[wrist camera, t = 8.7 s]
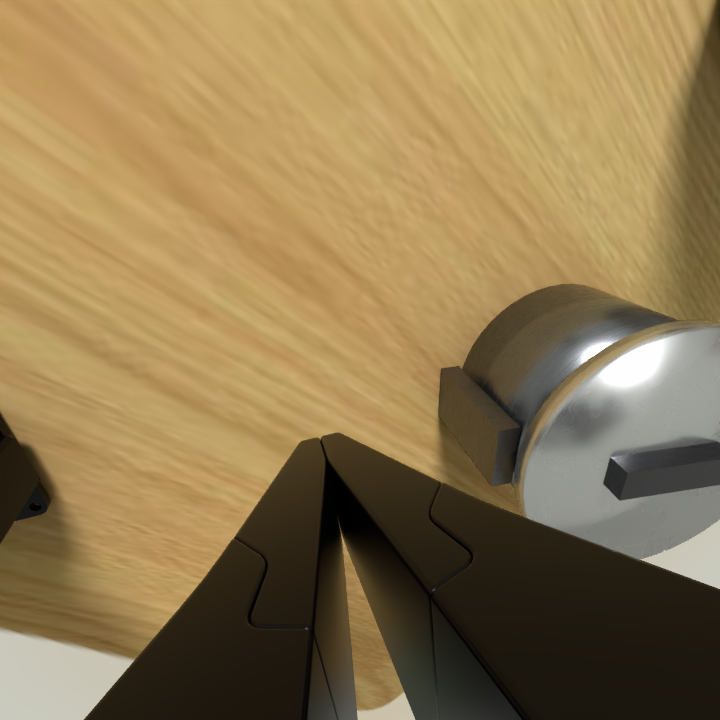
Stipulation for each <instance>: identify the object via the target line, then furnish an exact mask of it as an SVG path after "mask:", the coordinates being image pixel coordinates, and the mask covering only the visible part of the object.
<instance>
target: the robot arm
mask: <svg viewBox="0 0 720 720" xmlns="http://www.w3.org/2000/svg"><path fill="white" fill-rule="evenodd" d="M34 503H38V504H40V505H36V504H34ZM50 503H51V500H50V497H49V496H48V494H47V493H46V491H45V489H44V488H43V486H42V485H41V483H40V478H39V476H38V475H37V473H36V471H35V470H34V468H33V467H32V465H31V463H30V462H29V460H28V458H27V457H26V455H25V454H24V452H23V450H22V449H21V447H20V445H19V444H18V442H17V441H16V439H15V438H14V437H12V436H11V434H10V433H9V431H8V429H7V428H6V426H5V425H4V423H3V421H2V420H1V418H0V544H1V542H2V540H3V539H4V537H5V536H6V534H7V532H8V531H9V529H10V528H11V526H12V524H13V523H14V521H18V520H21V519H25V518H29V517H33V516H37V515H41V514H43V513H45V512H46V511H47V509H48V507H49V505H50ZM338 521H339V522H338ZM339 525H340V527H339ZM340 529H341V532H340ZM341 533H342V536H343V539H344V542H345V544H346V547H347V550H348V552H349V555H350V557H351V560H352V562H353V565H354V567H355V570H356V572H357V575H358V577H359V580H360V582H361V585H362V587H363V590H364V592H365V594H366V597H367V599H368V602H369V604H370V607H371V609H372V612H373V614H374V617H375V619H376V622H377V624H378V627H379V629H380V632H381V634H382V637H383V639H384V642H385V644H386V647H387V649H388V652H389V654H390V657H391V659H392V662H393V664H394V667H395V669H396V672H397V674H398V677H399V679H400V682H401V684H402V687H403V689H404V692H405V694H406V697H407V699H408V702H409V704H410V707H411V709H412V711H413V714H414V717H415V719H416V720H720V589H718V588H715V587H712V586H709V585H707V584H704V583H701V582H699V581H696V580H693V579H691V578H688V577H685V576H682V575H680V574H677V573H674V572H672V571H669V570H666V569H663V568H661V567H658V566H655V565H653V564H650V563H647V562H645V561H642V560H639V559H636V558H634V557H631V556H628V555H626V554H623V553H620V552H617V551H615V550H612V549H609V548H607V547H604V546H601V545H598V544H596V543H593V542H590V541H588V540H585V539H582V538H579V537H577V536H574V535H571V534H569V533H566V532H563V531H560V530H558V529H555V528H552V527H550V526H547V525H544V524H541V523H539V522H536V521H533V520H531V519H528V518H525V517H522V516H520V515H517V514H514V513H512V512H509V511H507V510H504V509H502V508H499V507H496V506H494V505H491V504H489V503H486V502H484V501H481V500H479V499H477V498H475V497H473V496H470V495H468V494H466V493H464V492H462V491H459V490H457V489H455V488H453V487H451V486H449V485H447V484H445V483H443V484H442V483H441V482H439V481H437V480H435V479H433V478H431V477H429V476H427V475H425V474H423V473H421V472H419V471H417V470H415V469H413V468H411V467H409V466H407V465H405V464H403V463H401V462H399V461H396V460H394V459H392V458H390V457H388V456H386V455H384V454H382V453H380V452H378V451H376V450H374V449H372V448H370V447H368V446H366V445H364V444H362V443H360V442H358V441H356V440H354V439H352V438H350V437H347V436H345V435H343V434H341V433H333V434H329V435H325V436H322V437H321V441H320V439H319V438H312V439H308V440H304V441H301V442H300V443H299V444H298V446H297V447H296V449H295V450H294V451H293V453H292V454H291V456H290V457H289V459H288V460H287V462H286V463H285V465H284V466H283V467H282V469H281V470H280V472H279V473H278V475H277V476H276V478H275V479H274V480H273V482H272V483H271V485H270V486H269V488H268V489H267V491H266V492H265V494H264V495H263V496H262V498H261V499H260V501H259V502H258V504H257V505H256V507H255V508H254V509H253V511H252V512H251V514H250V515H249V517H248V518H247V520H246V521H245V523H244V524H243V525H242V527H241V528H240V530H239V531H238V533H237V534H236V536H235V537H234V539H233V540H231V542H230V543H229V544H228V546H227V547H226V549H225V550H224V552H223V553H222V555H221V556H220V557H219V559H218V560H217V561H216V563H215V564H214V565H213V567H212V568H211V569H210V571H209V572H208V574H207V575H206V576H205V578H204V579H203V580H202V581H201V583H200V584H199V585H198V586H197V587H196V589H195V590H194V591H193V592H192V594H191V595H190V596H189V597H188V598H187V600H186V601H185V602H184V603H183V605H182V606H181V607H180V608H179V609H178V610H177V612H176V613H175V614H174V615H173V616H172V618H171V619H170V620H169V621H168V622H167V623H166V625H165V626H164V627H163V628H162V629H161V630H160V632H159V633H158V634H157V635H156V636H155V637H154V639H153V640H152V641H151V642H150V643H149V644H148V646H147V647H146V648H145V649H144V650H143V651H142V653H141V654H140V655H139V656H138V657H137V658H136V660H135V661H134V662H133V663H132V664H131V665H130V667H129V668H128V669H127V670H126V671H125V672H124V674H123V675H122V676H121V677H120V678H119V679H118V681H117V682H116V683H115V684H114V685H113V686H112V688H111V689H110V690H109V691H108V692H107V693H106V695H105V696H104V697H103V698H102V699H101V700H100V702H99V703H98V704H97V705H96V706H95V707H94V709H93V710H92V711H91V712H90V713H89V714H88V716H87V717H86V718H85V719H84V720H357V708H356V696H355V685H354V673H353V661H352V650H351V638H350V627H349V615H348V603H347V592H346V580H345V569H344V557H343V546H342V537H341Z"/></svg>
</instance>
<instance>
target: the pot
mask: <svg viewBox="0 0 720 720" xmlns="http://www.w3.org/2000/svg"><path fill="white" fill-rule="evenodd" d="M675 321H679V320H676V319H674V318H671V317H668V316H666V315H663V314H660V313H658V312H655V311H653V310H650V309H647V308H645V307H642V306H640V305H637V304H634V303H632V302H629V301H626V300H624V299H621V298H619V297H616V296H613V295H611V294H608V293H605V292H603V291H600V290H598V289H595V288H592V287H588V286H585V285H577V284H561V285H556V286H550V287H547V288H544V289H540V290H537V291H535V292H533V293H531V294H528V295H526V296H524V297H523V298H521V299H519V300H518V301H516V302H514V303H513V304H511V305H510V306H509V307H507V308H506V309H505V310H503V311H502V312H501V313H500V314H499V315H498V316H497V317H496V318H495V319H494V320H492V321H491V323H490V324H489V325H488V326H487V327H486V328H485V329H484V331H483V332H482V333H481V335H480V336H479V337H478V339H477V340H476V342H475V343H474V345H473V347H472V349H471V350H470V352H469V354H468V356H467V359H466V361H465V364H464V366H463V369H461V368H460V367H459V366H456V367H449V368H442V369H441V381H440V399H439V417H440V418H441V420H442V421H443V422H444V424H445V425H446V426H447V428H448V429H449V430H450V432H451V433H452V434H453V436H454V437H455V438H456V440H457V441H458V442H459V444H460V445H461V446H462V448H463V449H464V450H465V452H466V453H467V454H468V456H469V457H470V459H471V460H472V461H473V463H474V464H475V465H476V467H477V468H478V469H479V471H480V472H481V473H482V475H483V476H484V477H485V479H486V480H487V481H488V483H489V484H490V485H491V487H492V486H497V485H502V484H507V483H511V485H512V486H513V487H514V488H515V485H514V476H515V465H516V461H517V457H518V452H519V449H520V446H521V444H522V441H523V438H524V436H525V434H526V432H527V430H528V428H529V426H530V424H531V422H532V420H533V419H534V417H535V416H536V414H537V413H538V411H539V410H540V408H541V407H542V405H543V404H544V402H545V401H546V400H547V399H548V398H549V396H550V395H551V394H552V393H553V391H554V390H555V389H556V388H557V387H558V386H559V385H560V384H561V383H562V382H563V381H564V380H565V379H566V378H567V377H568V376H569V375H570V374H571V373H572V372H573V371H574V370H576V369H577V368H578V367H579V366H581V365H582V364H583V363H584V362H585V361H587V360H588V359H589V358H591V357H592V356H594V355H595V354H597V353H598V352H600V351H601V350H603V349H604V348H606V347H607V346H609V345H611V344H613V343H615V342H617V341H619V340H621V339H622V338H624V337H626V336H629V335H631V334H634V333H636V332H638V331H641V330H643V329H646V328H650V327H653V326H657V325H660V324H663V323H669V322H675Z"/></svg>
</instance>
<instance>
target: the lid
mask: <svg viewBox="0 0 720 720" xmlns="http://www.w3.org/2000/svg"><path fill="white" fill-rule="evenodd" d="M514 485H515V495H516V498H517V502H518V506H519V508H520V510H521V512H522V514H523V516H524V517H525V518H528V519H531V520H533V521H536V522H539V523H541V524H544V525H547V526H550V527H552V528H555V529H558V530H560V531H563V532H566V533H569V534H571V535H574V536H577V537H579V538H582V539H585V540H588V541H590V542H593V543H596V544H598V545H601V546H604V547H607V548H609V549H612V550H615V551H617V552H620V553H623V554H626V555H628V556H631V557H634V558H636V559H643V558H646V557H649V556H652V555H655V554H658V553H661V552H663V551H666V550H668V549H671V548H673V547H675V546H677V545H679V544H681V543H683V542H685V541H687V540H689V539H691V538H692V537H694V536H696V535H697V534H699V533H700V532H702V531H704V530H705V529H707V528H708V527H710V526H711V525H712V524H714V523H716V522H717V521H718V520H719V519H720V323H719V322H714V321H706V320H681V321H675V322H669V323H663V324H660V325H657V326H653V327H650V328H646V329H643V330H641V331H638V332H636V333H634V334H631V335H629V336H626V337H624V338H622V339H621V340H619V341H617V342H615V343H613V344H611V345H609V346H607V347H606V348H604V349H603V350H601V351H600V352H598V353H597V354H595V355H594V356H592V357H591V358H589V359H588V360H587V361H585V362H584V363H583V364H582V365H581V366H579V367H578V368H577V369H576V370H574V371H573V372H572V373H571V374H570V375H569V376H568V377H567V378H566V379H565V380H564V381H563V382H562V383H561V384H560V385H559V386H558V387H557V388H556V389H555V390H554V391H553V393H552V394H551V395H550V396H549V398H548V399H547V400H546V401H545V402H544V404H543V405H542V407H541V408H540V410H539V411H538V413H537V414H536V416H535V417H534V419H533V420H532V422H531V424H530V426H529V428H528V430H527V432H526V434H525V436H524V438H523V441H522V444H521V446H520V449H519V452H518V457H517V461H516V465H515V476H514Z"/></svg>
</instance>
